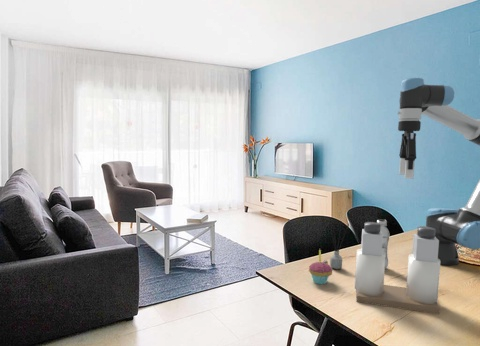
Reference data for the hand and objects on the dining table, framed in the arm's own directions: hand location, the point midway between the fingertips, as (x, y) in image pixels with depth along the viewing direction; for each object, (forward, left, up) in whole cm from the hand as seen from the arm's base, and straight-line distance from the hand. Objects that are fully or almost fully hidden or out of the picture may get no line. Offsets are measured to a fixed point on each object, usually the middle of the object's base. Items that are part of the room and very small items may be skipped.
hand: (405, 176), depth 129 cm
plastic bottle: (+6, -5, -39) cm, 40 cm away
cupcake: (+33, +10, -39) cm, 52 cm away
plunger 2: (+3, +24, -23) cm, 34 cm away
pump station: (+11, +22, -39) cm, 46 cm away
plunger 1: (+19, +20, -23) cm, 36 cm away
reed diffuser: (+25, -3, -39) cm, 46 cm away
